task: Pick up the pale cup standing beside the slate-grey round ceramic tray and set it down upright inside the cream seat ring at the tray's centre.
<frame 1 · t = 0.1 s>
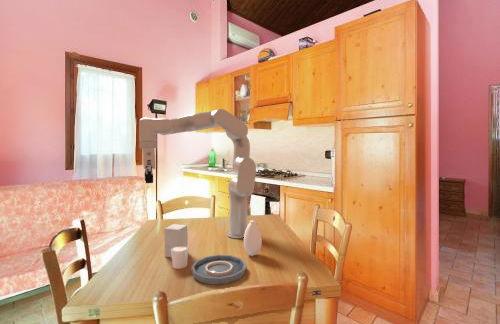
hand: (148, 181, 126), 31 cm above the table, tool pointing down, fingers open, 9 cm apart
round tray: (219, 271, 103), on the table
pale cup: (179, 266, 108), on the table
supplement box: (176, 255, 119), on the table
air blower bulb: (252, 255, 118), on the table
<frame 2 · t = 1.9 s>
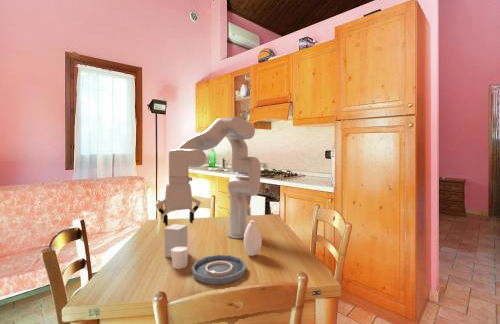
hand: (178, 223, 107), 17 cm above the table, tool pointing down, fingers open, 9 cm apart
nothing on the table moved.
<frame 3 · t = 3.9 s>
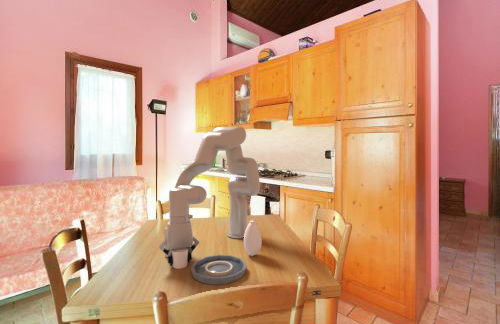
hand: (179, 262, 108), 1 cm above the table, tool pointing down, fingers closed on pale cup, 6 cm apart
pale cup: (179, 265, 108), on the table, touching gripper
everything else where it was.
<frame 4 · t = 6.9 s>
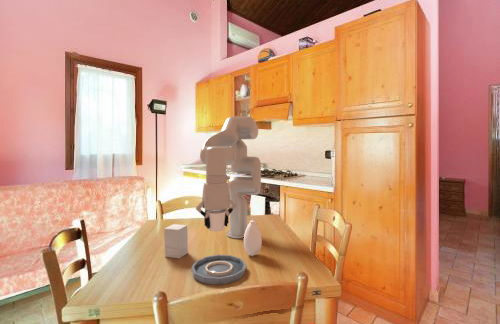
hand: (216, 226, 102), 17 cm above the table, tool pointing down, fingers closed on pale cup, 6 cm apart
pale cup: (216, 229, 102), point 16 cm above the table, touching gripper
everything else where it was.
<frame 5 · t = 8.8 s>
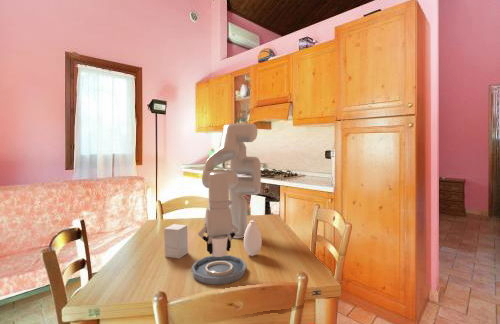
hand: (218, 251, 102), 8 cm above the table, tool pointing down, fingers closed on pale cup, 6 cm apart
pale cup: (218, 254, 102), point 7 cm above the table, touching gripper
everything else where it was.
when the fingers open (3 cm above the table, at t = 10.2 s): pale cup drops 1 cm, resting on round tray.
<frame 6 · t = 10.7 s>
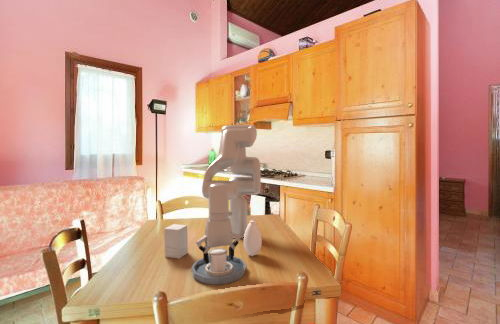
hand: (219, 260, 103), 4 cm above the table, tool pointing down, fingers open, 9 cm apart
pale cup: (218, 269, 103), point 1 cm above the table, touching round tray
everything else where it was.
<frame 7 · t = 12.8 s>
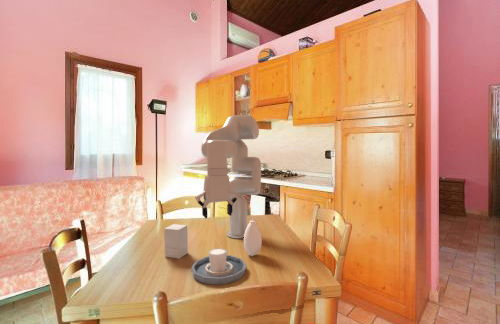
hand: (217, 216, 105), 21 cm above the table, tool pointing down, fingers open, 9 cm apart
nothing on the table moved.
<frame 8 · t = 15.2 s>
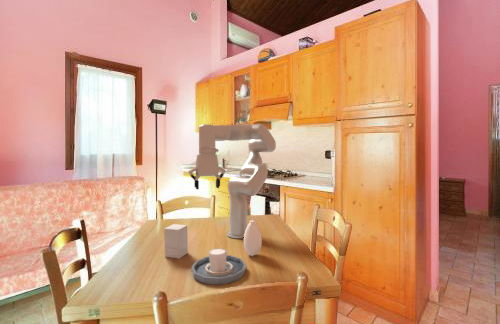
hand: (207, 188, 125), 28 cm above the table, tool pointing down, fingers open, 9 cm apart
nothing on the table moved.
at the end: pale cup 0.4 cm from the round tray (horizontally); pale cup point 0.6 cm above the table; pale cup tilted 0° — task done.
